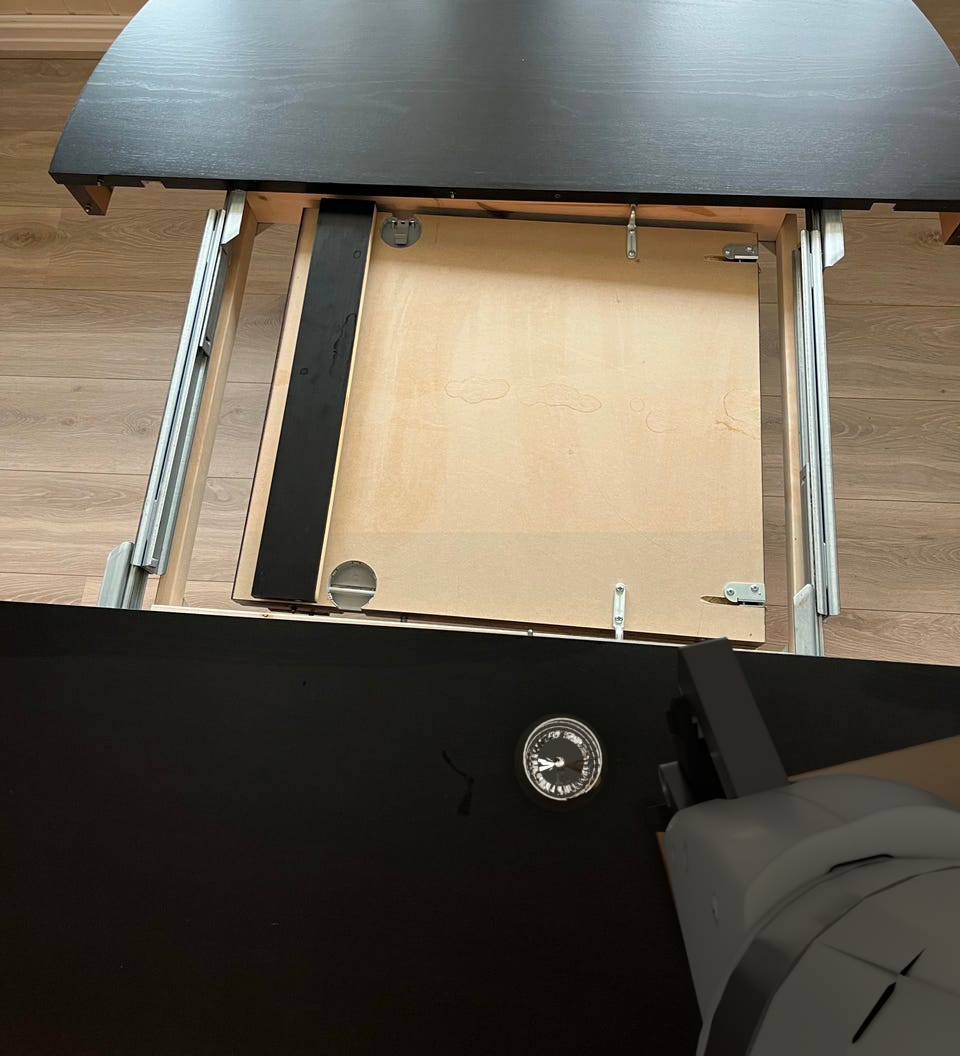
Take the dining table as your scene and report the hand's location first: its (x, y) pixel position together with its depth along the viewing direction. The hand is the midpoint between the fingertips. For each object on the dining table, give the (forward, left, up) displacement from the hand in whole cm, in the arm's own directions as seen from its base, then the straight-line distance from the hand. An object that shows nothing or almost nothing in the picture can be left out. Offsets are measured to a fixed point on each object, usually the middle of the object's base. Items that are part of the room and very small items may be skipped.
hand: (742, 982), depth 31 cm
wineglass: (+9, +2, -43) cm, 44 cm away
